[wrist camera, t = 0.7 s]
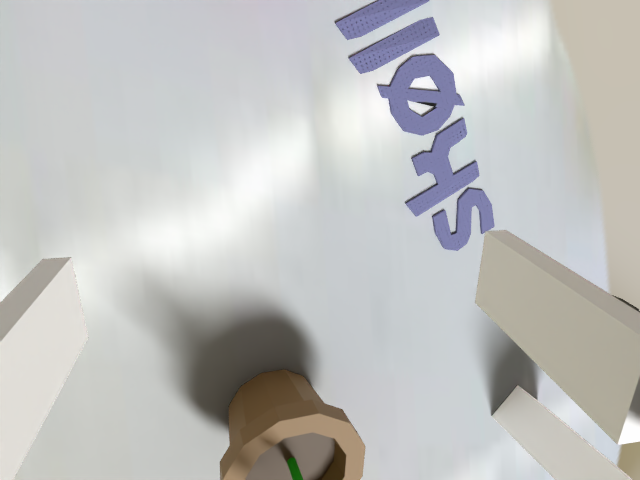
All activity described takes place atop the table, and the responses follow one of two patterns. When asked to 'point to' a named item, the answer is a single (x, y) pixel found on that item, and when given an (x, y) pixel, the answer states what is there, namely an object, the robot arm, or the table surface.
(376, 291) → the table surface
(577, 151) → the table surface
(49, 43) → the table surface
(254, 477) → the flowerpot
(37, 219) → the table surface
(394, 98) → the signage
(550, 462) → the milk
